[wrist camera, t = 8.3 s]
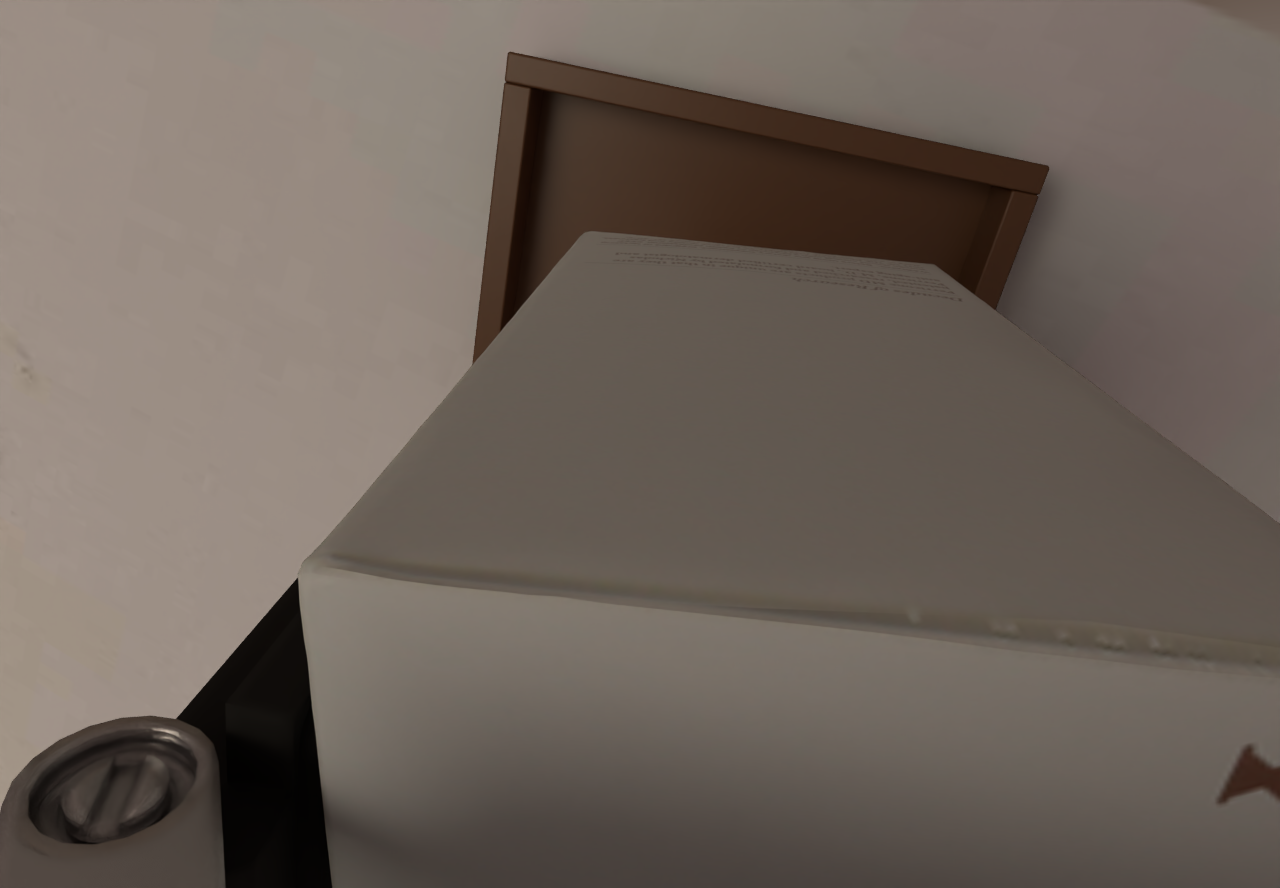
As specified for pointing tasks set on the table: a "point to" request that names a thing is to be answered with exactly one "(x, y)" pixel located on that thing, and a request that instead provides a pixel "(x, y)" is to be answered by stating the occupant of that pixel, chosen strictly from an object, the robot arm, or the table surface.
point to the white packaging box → (791, 605)
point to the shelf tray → (730, 184)
